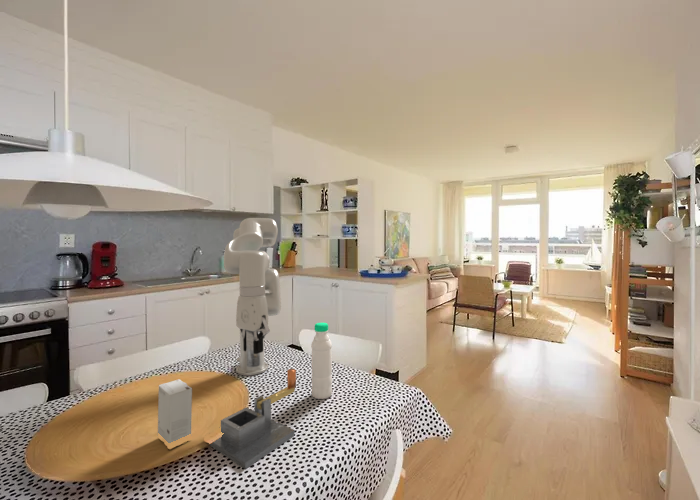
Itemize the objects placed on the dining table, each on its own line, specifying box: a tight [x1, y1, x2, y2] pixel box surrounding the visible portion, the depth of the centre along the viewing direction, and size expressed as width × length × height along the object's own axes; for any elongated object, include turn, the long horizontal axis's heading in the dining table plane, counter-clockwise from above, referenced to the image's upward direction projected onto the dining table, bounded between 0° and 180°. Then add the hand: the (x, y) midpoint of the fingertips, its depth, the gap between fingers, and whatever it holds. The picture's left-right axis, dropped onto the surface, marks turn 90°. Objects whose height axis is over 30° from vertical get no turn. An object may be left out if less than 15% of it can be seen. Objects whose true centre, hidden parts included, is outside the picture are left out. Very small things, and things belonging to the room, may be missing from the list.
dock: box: [209, 395, 295, 470], centre depth 87 cm, size 18×16×9 cm
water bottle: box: [310, 322, 333, 400], centre depth 111 cm, size 7×7×25 cm
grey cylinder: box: [245, 327, 261, 367], centre depth 99 cm, size 5×5×12 cm
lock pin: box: [257, 368, 297, 410], centre depth 95 cm, size 3×14×7 cm, turn 144°
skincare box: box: [157, 378, 193, 443], centre depth 87 cm, size 8×6×15 cm
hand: (253, 350), depth 99 cm, fingers closed on grey cylinder, 4 cm apart
